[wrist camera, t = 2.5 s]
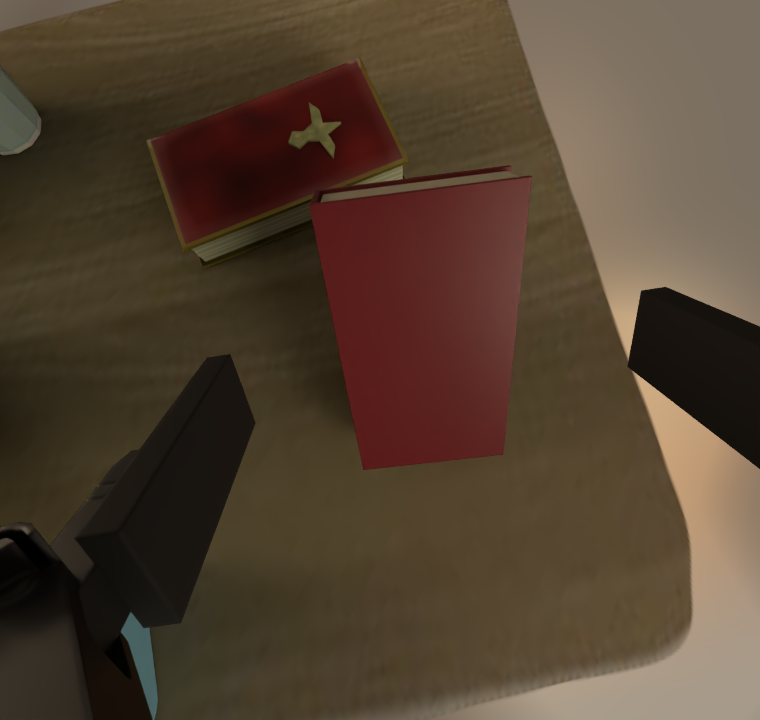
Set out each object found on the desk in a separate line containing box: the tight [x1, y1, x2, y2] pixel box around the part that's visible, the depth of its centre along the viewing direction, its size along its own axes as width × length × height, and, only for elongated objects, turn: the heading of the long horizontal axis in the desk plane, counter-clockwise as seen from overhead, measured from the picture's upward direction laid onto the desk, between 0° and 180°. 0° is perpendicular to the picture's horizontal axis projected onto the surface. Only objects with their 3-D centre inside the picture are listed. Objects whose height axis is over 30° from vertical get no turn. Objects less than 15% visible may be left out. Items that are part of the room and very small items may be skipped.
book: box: [309, 165, 532, 470], centre depth 26 cm, size 20×11×4 cm
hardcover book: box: [146, 58, 409, 268], centre depth 36 cm, size 12×21×4 cm, turn 112°
